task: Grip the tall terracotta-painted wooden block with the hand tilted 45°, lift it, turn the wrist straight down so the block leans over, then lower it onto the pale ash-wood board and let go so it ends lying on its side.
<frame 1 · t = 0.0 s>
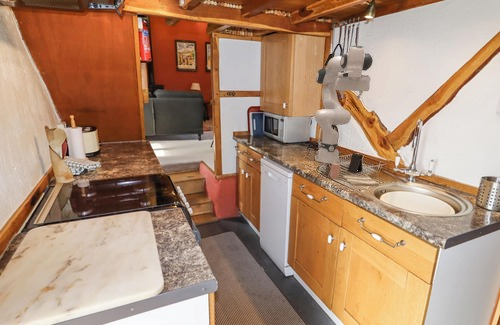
hand: (350, 98, 170), 48 cm above the worktop, tool pointing down, fingers open, 8 cm apart
ash board: (359, 181, 169), on the worktop
terracotta block: (334, 177, 173), on the worktop
door stopper: (354, 171, 189), on the worktop
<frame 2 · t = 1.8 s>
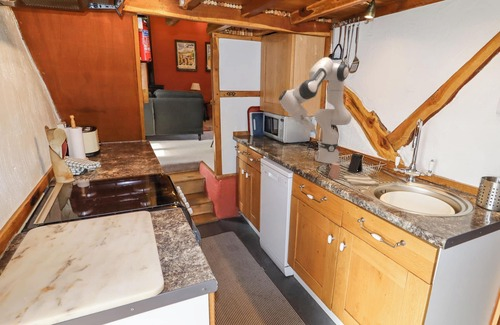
hand: (314, 132, 165), 28 cm above the worktop, tool tilted 45°, fingers open, 8 cm apart
nothing on the worktop moved.
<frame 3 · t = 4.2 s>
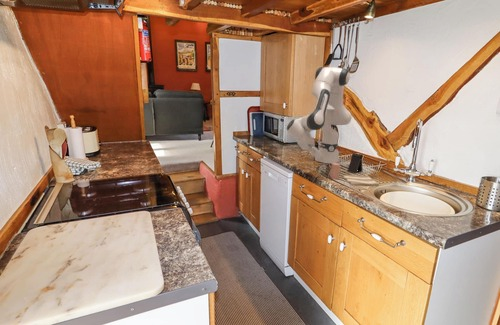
hand: (321, 159, 170), 12 cm above the worktop, tool tilted 45°, fingers open, 8 cm apart
nothing on the worktop moved.
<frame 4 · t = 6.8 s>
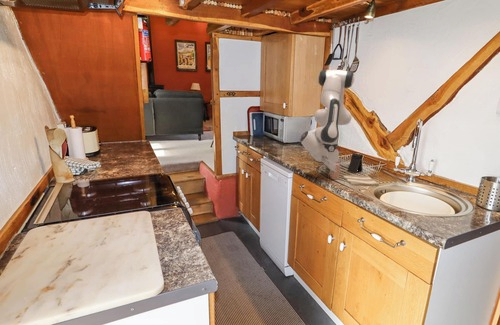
hand: (334, 170, 172), 5 cm above the worktop, tool tilted 45°, fingers closed on terracotta block, 4 cm apart
terracotta block: (334, 177, 173), on the worktop, touching gripper
everything else where it was.
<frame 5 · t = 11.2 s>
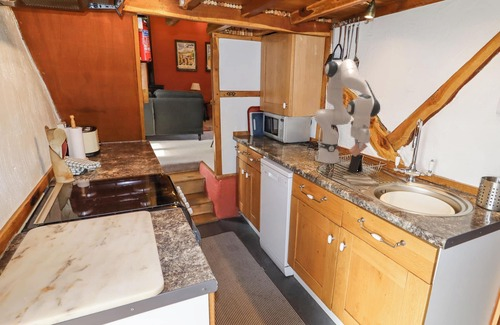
hand: (358, 147, 163), 21 cm above the worktop, tool pointing down, fingers closed on terracotta block, 4 cm apart
terracotta block: (351, 153, 165), point 17 cm above the worktop, tilted 44°, touching gripper
everything else where it was.
when the fingers open (7 cm above the worktop, at t = 15.3 s): terracotta block moves 1 cm and tips over, resting on ash board.
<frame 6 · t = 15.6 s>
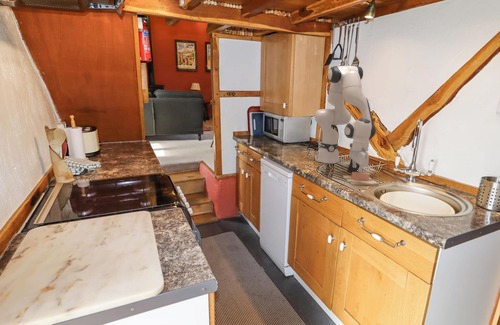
hand: (356, 169, 167), 7 cm above the worktop, tool pointing down, fingers open, 7 cm apart
terracotta block: (352, 175, 168), point 3 cm above the worktop, tilted 90°, touching ash board
everything else where it was.
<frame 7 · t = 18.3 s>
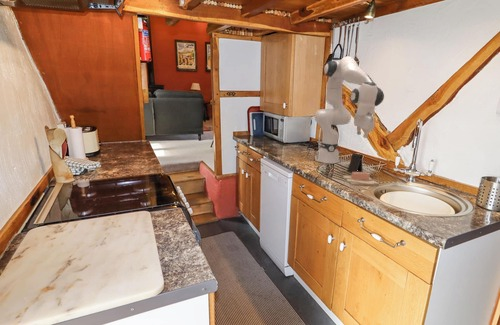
hand: (361, 136, 161), 28 cm above the worktop, tool pointing down, fingers open, 8 cm apart
nothing on the worktop moved.
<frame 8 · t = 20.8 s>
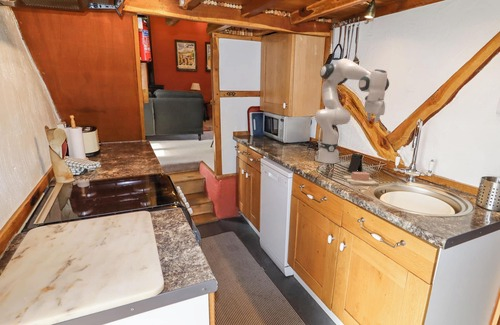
hand: (372, 121, 170), 35 cm above the worktop, tool pointing down, fingers open, 8 cm apart
nothing on the worktop moved.
at the end: terracotta block tilted 90°; terracotta block touching ash board; the gripper is holding nothing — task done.
